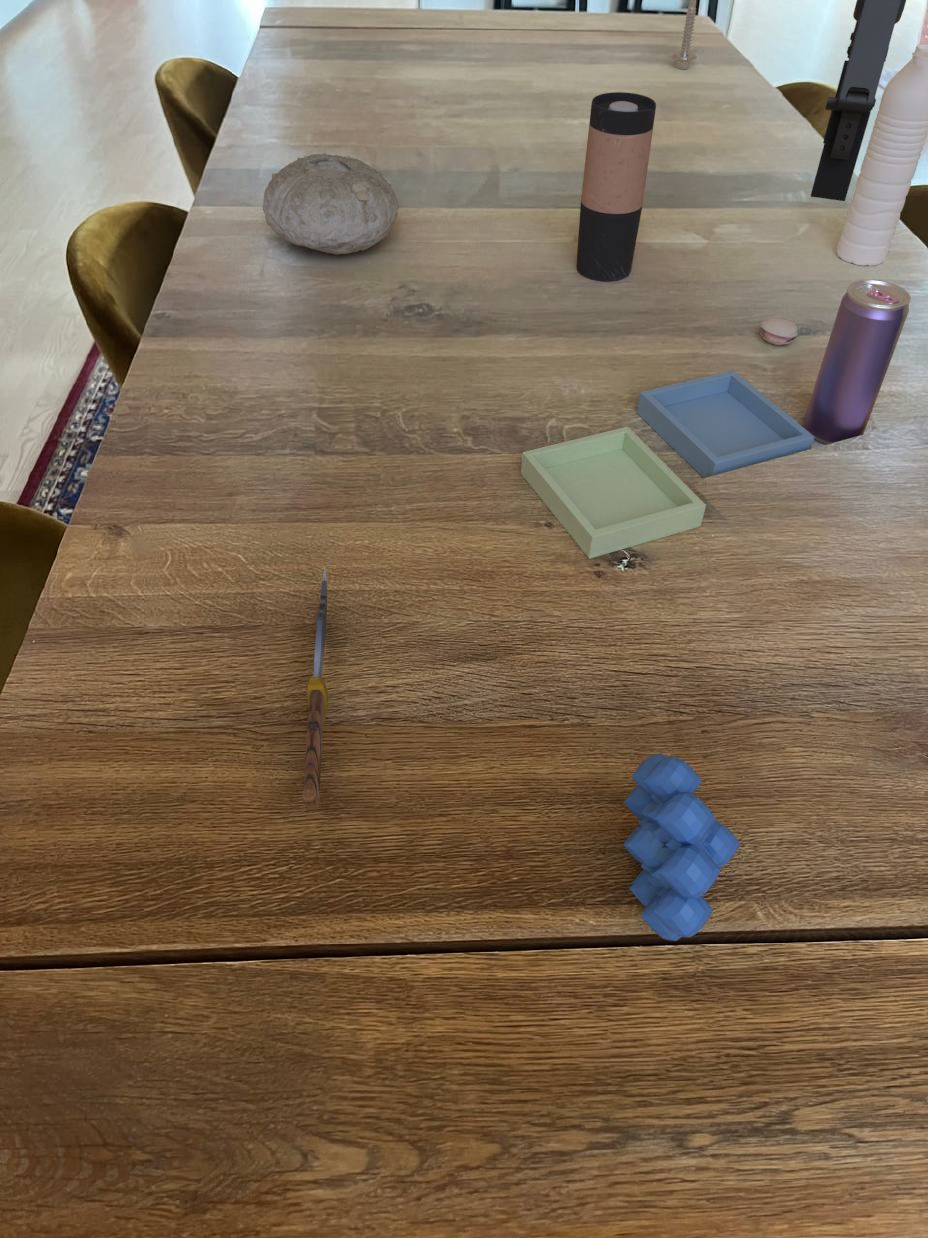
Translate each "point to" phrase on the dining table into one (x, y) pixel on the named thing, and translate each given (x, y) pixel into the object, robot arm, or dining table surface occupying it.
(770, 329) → the macaroon
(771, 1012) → the dining table surface
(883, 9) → the robot arm
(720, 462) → the tray
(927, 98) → the water bottle
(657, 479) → the snack tray
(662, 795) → the grapes
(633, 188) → the travel mug
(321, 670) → the knife
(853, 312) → the beverage can
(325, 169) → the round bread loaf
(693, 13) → the screw
